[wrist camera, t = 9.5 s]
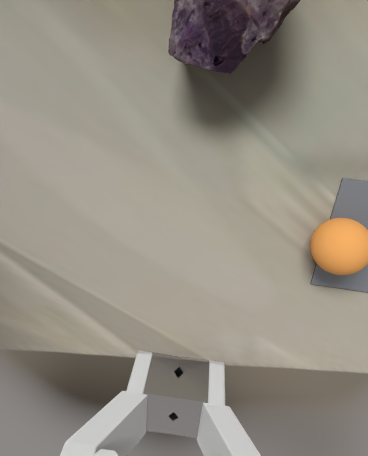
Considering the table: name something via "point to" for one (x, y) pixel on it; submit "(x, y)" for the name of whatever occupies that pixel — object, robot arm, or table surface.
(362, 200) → the grey mark
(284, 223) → the table surface
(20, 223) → the table surface
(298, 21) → the table surface
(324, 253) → the ball
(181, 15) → the rock
